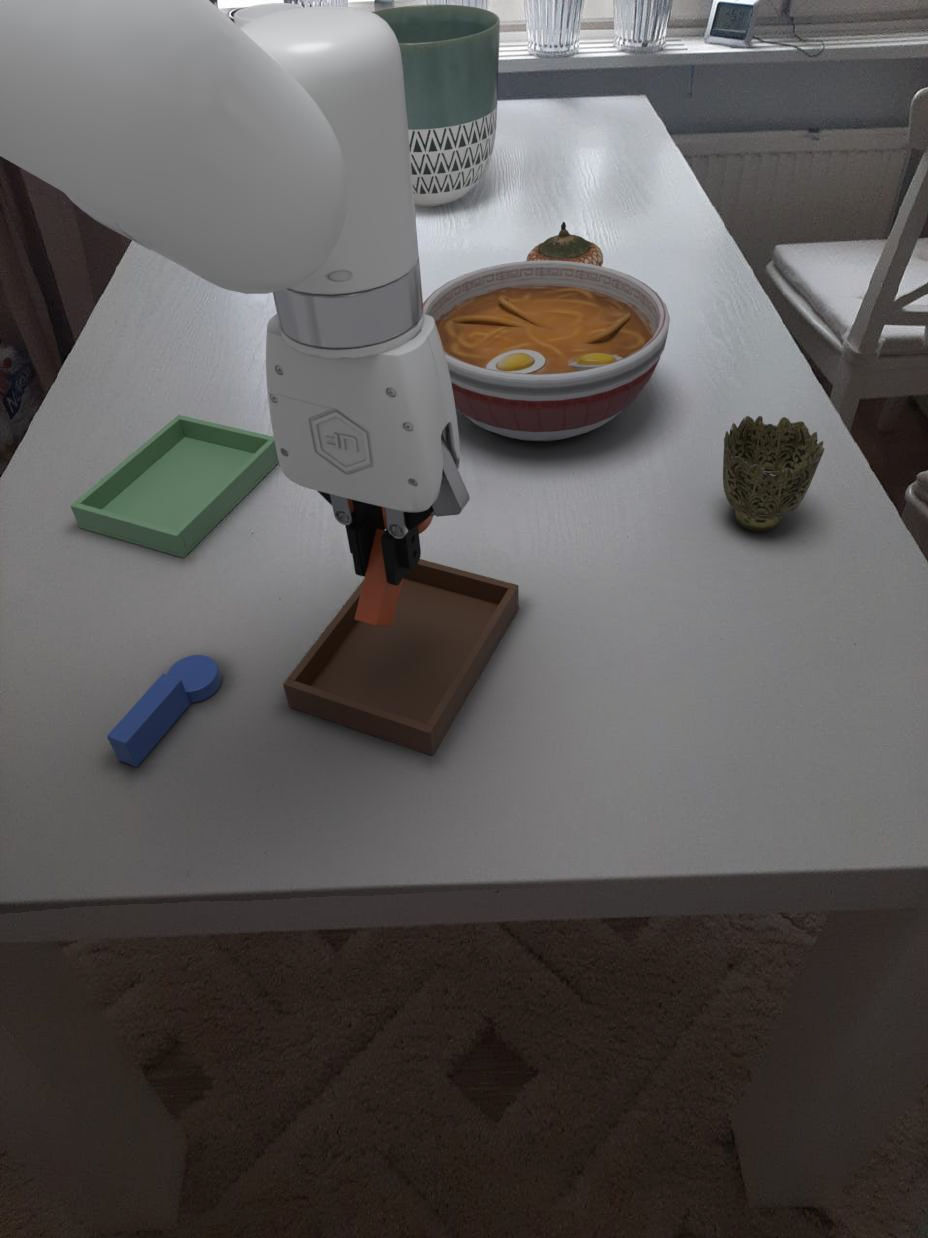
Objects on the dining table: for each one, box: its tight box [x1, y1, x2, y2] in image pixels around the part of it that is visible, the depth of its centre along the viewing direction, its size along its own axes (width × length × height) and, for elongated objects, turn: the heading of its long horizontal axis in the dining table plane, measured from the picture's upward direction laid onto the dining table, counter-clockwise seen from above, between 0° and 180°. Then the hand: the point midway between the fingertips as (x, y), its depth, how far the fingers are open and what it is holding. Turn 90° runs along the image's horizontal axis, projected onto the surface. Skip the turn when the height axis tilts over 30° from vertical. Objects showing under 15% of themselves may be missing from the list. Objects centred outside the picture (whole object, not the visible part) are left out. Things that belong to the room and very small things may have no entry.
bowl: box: [423, 260, 671, 442], centre depth 88 cm, size 23×23×10 cm
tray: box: [282, 558, 520, 756], centre depth 68 cm, size 15×11×2 cm
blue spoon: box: [106, 654, 222, 768], centre depth 64 cm, size 10×4×3 cm, turn 156°
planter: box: [371, 4, 501, 207], centre depth 124 cm, size 20×20×21 cm
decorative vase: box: [722, 415, 825, 533], centre depth 75 cm, size 8×7×8 cm
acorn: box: [525, 221, 604, 267], centre depth 102 cm, size 8×8×10 cm
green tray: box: [70, 414, 280, 559], centre depth 83 cm, size 15×11×2 cm
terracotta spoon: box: [355, 507, 434, 626], centre depth 61 cm, size 10×4×3 cm
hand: (387, 565), depth 61 cm, fingers closed on terracotta spoon, 1 cm apart
